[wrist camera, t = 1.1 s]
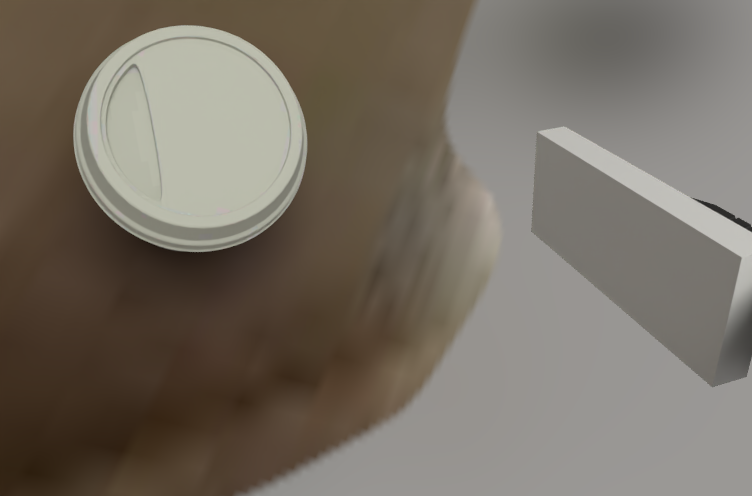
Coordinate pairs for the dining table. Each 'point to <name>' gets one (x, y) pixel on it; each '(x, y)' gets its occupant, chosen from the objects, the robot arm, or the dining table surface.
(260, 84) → the coffee cup
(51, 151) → the dining table surface
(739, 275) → the robot arm
